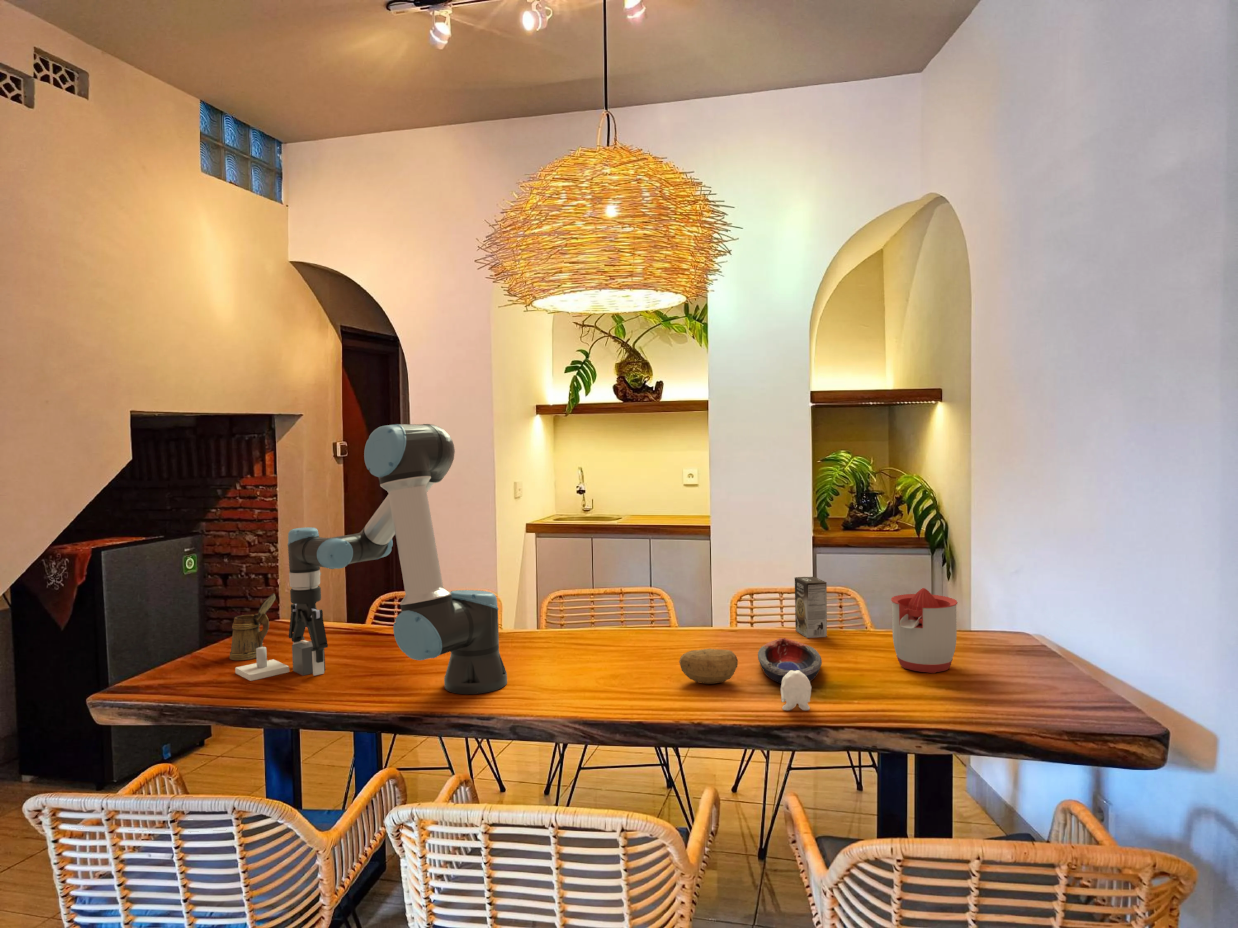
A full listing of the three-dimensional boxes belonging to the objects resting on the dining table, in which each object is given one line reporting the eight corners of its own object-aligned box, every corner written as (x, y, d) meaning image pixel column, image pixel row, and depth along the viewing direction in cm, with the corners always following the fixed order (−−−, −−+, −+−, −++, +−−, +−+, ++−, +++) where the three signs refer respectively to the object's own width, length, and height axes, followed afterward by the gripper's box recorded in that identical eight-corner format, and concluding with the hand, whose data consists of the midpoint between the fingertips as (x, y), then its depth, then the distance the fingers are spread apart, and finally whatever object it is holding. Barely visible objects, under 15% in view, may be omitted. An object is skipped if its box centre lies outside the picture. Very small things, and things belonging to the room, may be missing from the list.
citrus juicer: (876, 669, 206) (876, 590, 205) (908, 654, 218) (908, 579, 217) (938, 682, 195) (937, 598, 194) (968, 665, 207) (967, 586, 206)
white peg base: (289, 671, 217) (288, 647, 216) (250, 680, 210) (249, 655, 209) (273, 664, 224) (272, 640, 224) (235, 673, 217) (234, 648, 217)
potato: (680, 676, 205) (679, 644, 204) (737, 677, 203) (737, 644, 203) (678, 688, 195) (677, 655, 195) (738, 689, 193) (737, 656, 193)
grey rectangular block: (325, 670, 217) (324, 641, 217) (303, 675, 213) (301, 646, 213) (315, 665, 222) (313, 637, 221) (293, 670, 218) (291, 642, 217)
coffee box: (794, 630, 246) (793, 577, 245) (814, 629, 247) (814, 575, 246) (806, 638, 237) (806, 582, 236) (827, 636, 238) (827, 581, 237)
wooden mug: (269, 660, 228) (266, 596, 227) (222, 660, 229) (219, 596, 228) (285, 651, 237) (282, 589, 236) (240, 651, 238) (237, 589, 237)
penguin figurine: (782, 673, 176) (775, 662, 188) (783, 714, 176) (776, 700, 188) (812, 673, 176) (803, 662, 188) (813, 713, 175) (804, 700, 187)
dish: (758, 689, 194) (758, 668, 193) (757, 653, 224) (757, 635, 224) (826, 691, 191) (826, 670, 191) (816, 654, 221) (816, 635, 221)
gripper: (339, 590, 211) (343, 675, 212) (300, 579, 227) (303, 658, 228) (311, 594, 206) (314, 682, 207) (272, 583, 222) (276, 664, 223)
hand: (309, 669), depth 217 cm, fingers open, 11 cm apart
